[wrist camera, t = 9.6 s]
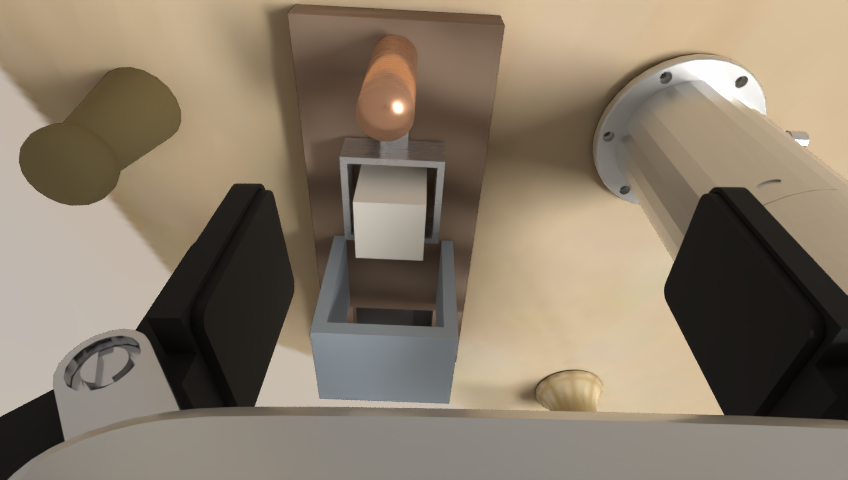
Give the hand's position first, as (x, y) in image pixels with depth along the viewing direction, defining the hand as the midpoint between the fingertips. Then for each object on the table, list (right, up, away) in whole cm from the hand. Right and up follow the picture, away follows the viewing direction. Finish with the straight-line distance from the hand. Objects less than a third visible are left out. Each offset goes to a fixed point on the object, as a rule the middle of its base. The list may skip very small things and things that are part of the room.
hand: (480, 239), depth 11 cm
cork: (-23, +11, +27) cm, 37 cm away
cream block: (-4, +4, +28) cm, 29 cm away
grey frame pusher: (-3, +8, +25) cm, 26 cm away
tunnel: (-4, -3, +34) cm, 34 cm away
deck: (-4, +2, +33) cm, 33 cm away
